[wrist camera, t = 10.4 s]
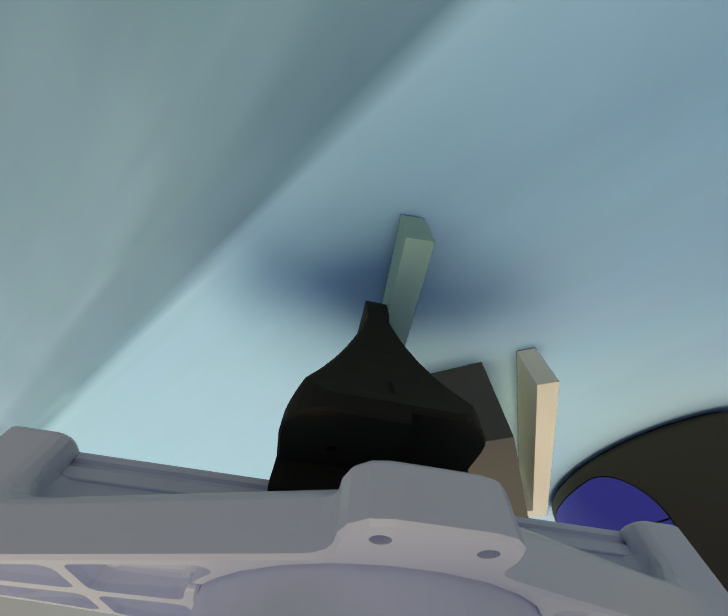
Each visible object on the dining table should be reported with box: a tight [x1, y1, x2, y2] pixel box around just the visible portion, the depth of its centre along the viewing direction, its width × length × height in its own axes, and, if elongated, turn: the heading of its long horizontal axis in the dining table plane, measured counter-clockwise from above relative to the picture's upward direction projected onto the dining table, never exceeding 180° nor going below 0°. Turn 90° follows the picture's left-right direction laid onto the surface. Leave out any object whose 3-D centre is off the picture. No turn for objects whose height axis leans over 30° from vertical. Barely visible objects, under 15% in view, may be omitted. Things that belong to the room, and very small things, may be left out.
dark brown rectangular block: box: [431, 362, 528, 518], centre depth 18 cm, size 4×12×5 cm, turn 22°
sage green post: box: [382, 215, 435, 346], centre depth 13 cm, size 10×1×3 cm, turn 172°
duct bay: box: [517, 348, 559, 517], centre depth 19 cm, size 9×15×2 cm, turn 17°
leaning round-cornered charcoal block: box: [552, 412, 728, 592], centre depth 17 cm, size 16×5×9 cm, turn 157°
